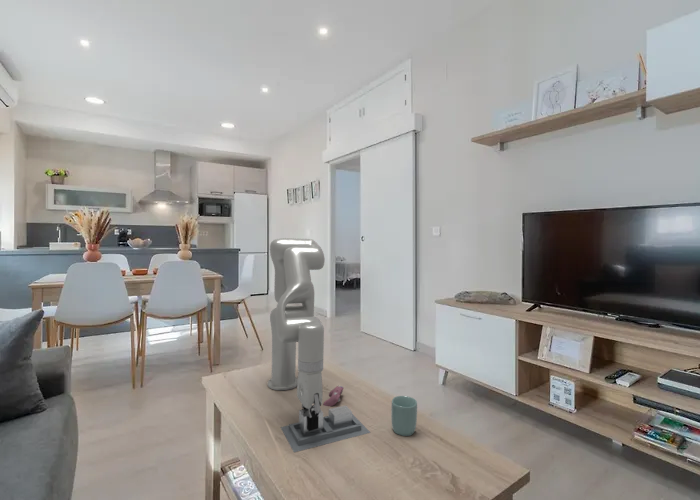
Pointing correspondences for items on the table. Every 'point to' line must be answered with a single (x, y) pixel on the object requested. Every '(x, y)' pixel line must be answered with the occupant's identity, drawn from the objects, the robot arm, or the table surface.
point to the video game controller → (334, 396)
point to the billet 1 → (304, 420)
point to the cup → (404, 415)
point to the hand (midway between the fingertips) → (309, 424)
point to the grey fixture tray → (321, 434)
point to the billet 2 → (340, 417)
